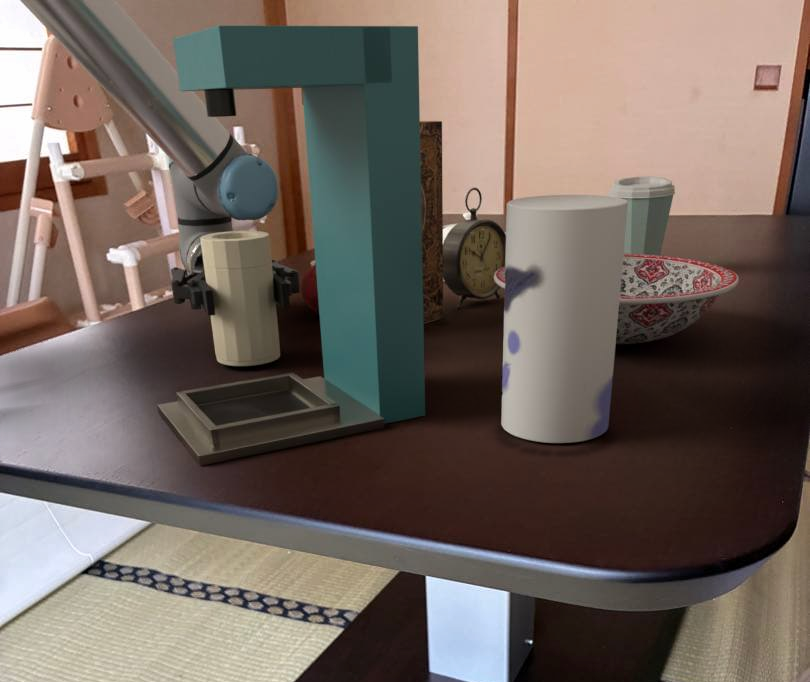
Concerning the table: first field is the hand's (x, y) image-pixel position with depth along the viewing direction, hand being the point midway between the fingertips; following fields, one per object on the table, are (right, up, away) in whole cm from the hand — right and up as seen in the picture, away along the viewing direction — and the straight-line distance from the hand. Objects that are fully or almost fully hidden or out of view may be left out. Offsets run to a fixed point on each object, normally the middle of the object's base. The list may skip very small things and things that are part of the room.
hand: (248, 299), depth 93 cm
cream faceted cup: (-1, -5, +8) cm, 9 cm away
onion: (+6, +6, +29) cm, 30 cm away
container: (+32, -16, -14) cm, 38 cm away
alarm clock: (+28, +9, +33) cm, 44 cm away
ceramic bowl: (+43, -1, +13) cm, 45 cm away
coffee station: (+6, -14, -9) cm, 18 cm away
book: (+16, +3, +22) cm, 28 cm away
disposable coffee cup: (+57, +18, +49) cm, 77 cm away
